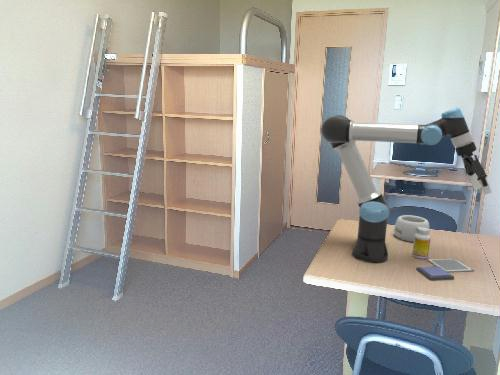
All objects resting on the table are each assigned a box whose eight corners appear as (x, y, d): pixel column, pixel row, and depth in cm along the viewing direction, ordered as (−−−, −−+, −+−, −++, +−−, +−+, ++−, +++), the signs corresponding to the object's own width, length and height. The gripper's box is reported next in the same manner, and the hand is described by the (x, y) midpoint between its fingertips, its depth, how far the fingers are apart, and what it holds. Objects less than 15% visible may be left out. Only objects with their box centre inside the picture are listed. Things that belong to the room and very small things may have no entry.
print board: (444, 272, 173) (445, 271, 173) (426, 260, 185) (426, 259, 185) (473, 271, 175) (473, 270, 175) (453, 259, 187) (454, 258, 187)
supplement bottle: (429, 260, 186) (433, 231, 183) (413, 258, 187) (416, 230, 184) (426, 254, 192) (429, 227, 189) (410, 253, 193) (414, 225, 191)
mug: (389, 231, 223) (391, 213, 221) (421, 233, 222) (424, 214, 220) (401, 246, 202) (404, 226, 200) (437, 247, 201) (440, 227, 199)
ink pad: (430, 280, 165) (430, 276, 164) (416, 270, 174) (416, 266, 174) (453, 279, 166) (454, 275, 166) (438, 269, 176) (439, 265, 176)
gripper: (482, 141, 165) (502, 192, 165) (464, 139, 189) (482, 184, 189) (462, 149, 166) (482, 199, 167) (447, 146, 191) (465, 190, 191)
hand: (482, 191), depth 178 cm, fingers open, 13 cm apart
